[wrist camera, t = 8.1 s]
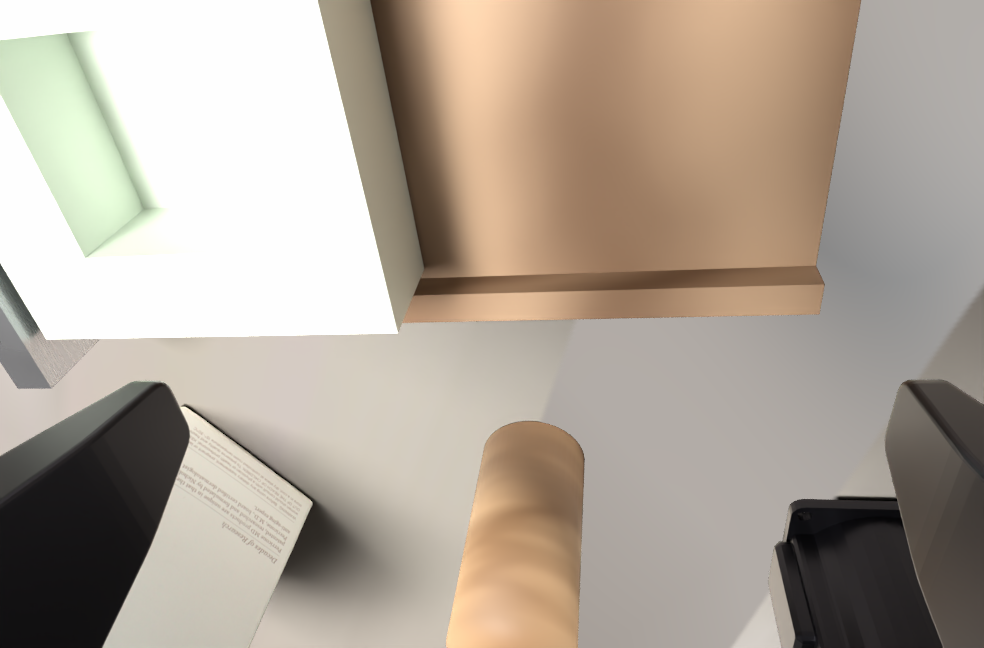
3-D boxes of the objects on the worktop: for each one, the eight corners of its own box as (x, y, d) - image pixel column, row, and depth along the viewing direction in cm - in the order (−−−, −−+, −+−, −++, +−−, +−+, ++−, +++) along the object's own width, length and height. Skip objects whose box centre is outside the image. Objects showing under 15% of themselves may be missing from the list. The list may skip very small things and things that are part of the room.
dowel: (582, 421, 26) (573, 618, 20) (586, 493, 28) (580, 690, 22) (477, 421, 27) (436, 610, 20) (490, 491, 29) (456, 681, 23)
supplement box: (182, 397, 28) (-56, 720, 18) (319, 501, 31) (178, 832, 21) (96, 467, 32) (-145, 771, 22) (226, 554, 34) (65, 861, 24)
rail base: (901, -338, 13) (1027, -407, 9) (803, 279, 21) (847, 386, 17) (-127, -160, 18) (-343, -155, 14) (110, 299, 26) (17, 388, 22)
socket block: (338, -158, 15) (280, -154, 13) (424, 269, 22) (398, 333, 19) (-78, -96, 17) (-206, -80, 15) (111, 279, 24) (46, 339, 21)
